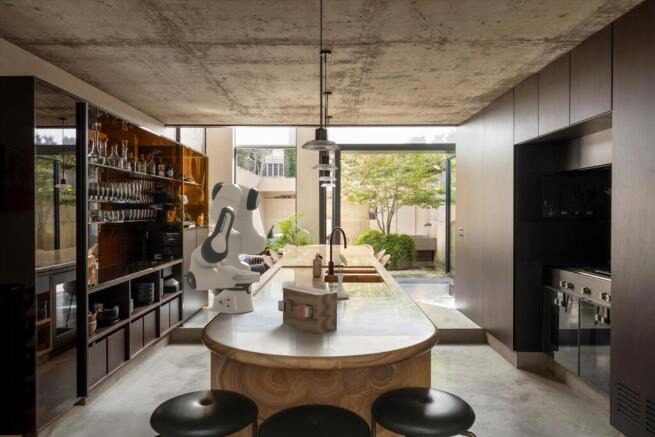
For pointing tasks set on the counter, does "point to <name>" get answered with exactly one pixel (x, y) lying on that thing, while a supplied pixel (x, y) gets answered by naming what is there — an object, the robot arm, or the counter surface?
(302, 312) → the plunger right
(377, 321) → the counter surface
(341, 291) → the flower in vase
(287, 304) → the plunger left
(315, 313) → the button panel
